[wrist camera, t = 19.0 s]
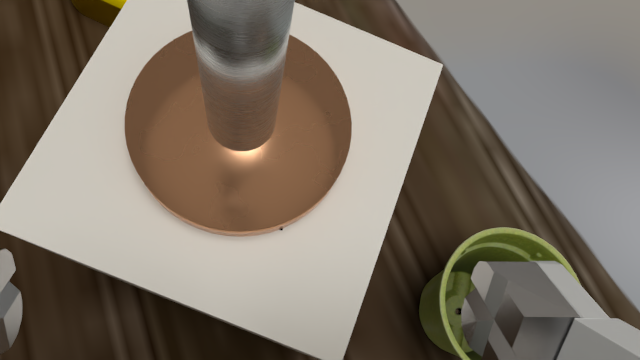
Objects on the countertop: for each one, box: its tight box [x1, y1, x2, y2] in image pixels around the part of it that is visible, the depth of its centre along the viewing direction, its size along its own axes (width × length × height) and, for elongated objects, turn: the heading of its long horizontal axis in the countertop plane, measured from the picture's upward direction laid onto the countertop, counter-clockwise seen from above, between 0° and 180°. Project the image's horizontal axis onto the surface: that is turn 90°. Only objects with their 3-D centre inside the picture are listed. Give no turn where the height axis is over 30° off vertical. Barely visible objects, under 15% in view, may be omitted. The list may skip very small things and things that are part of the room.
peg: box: [125, 0, 352, 237], centre depth 22 cm, size 10×10×26 cm
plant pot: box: [419, 227, 581, 360], centre depth 34 cm, size 9×9×9 cm
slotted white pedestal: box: [0, 0, 443, 360], centre depth 31 cm, size 16×16×15 cm
